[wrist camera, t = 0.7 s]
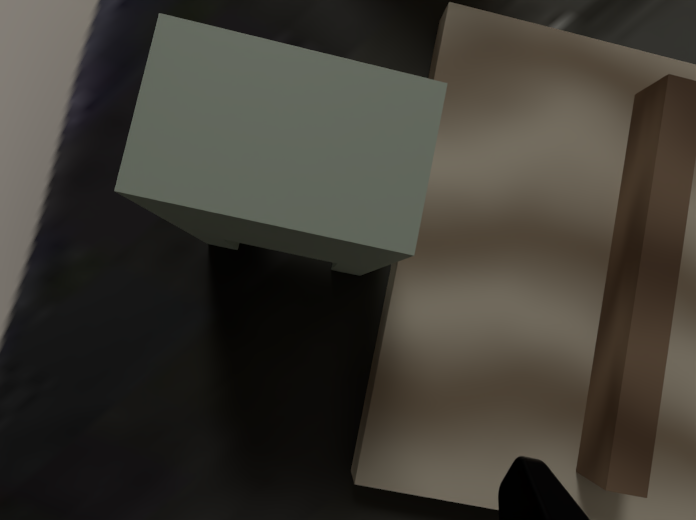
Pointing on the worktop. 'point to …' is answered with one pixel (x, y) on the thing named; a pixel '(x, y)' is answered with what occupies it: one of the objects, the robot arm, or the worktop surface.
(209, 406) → the worktop surface
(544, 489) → the robot arm
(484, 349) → the cleat board
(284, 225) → the grey-green notched block
